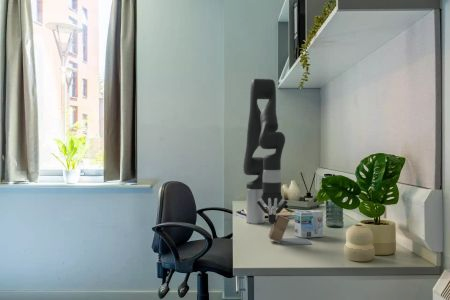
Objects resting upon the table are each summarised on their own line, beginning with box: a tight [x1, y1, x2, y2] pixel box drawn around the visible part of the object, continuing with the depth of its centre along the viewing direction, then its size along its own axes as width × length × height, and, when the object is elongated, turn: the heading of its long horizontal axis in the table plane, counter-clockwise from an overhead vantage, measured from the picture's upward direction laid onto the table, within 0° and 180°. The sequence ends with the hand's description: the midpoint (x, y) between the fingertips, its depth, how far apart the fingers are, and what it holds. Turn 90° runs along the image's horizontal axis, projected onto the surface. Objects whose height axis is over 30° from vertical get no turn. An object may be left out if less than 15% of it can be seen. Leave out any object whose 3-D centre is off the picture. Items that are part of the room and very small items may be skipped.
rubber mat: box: [279, 237, 313, 246], centre depth 164 cm, size 10×12×1 cm
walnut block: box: [267, 213, 290, 244], centre depth 164 cm, size 4×4×10 cm
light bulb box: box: [294, 209, 324, 239], centre depth 173 cm, size 11×7×11 cm, turn 105°
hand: (271, 223), depth 163 cm, fingers closed
